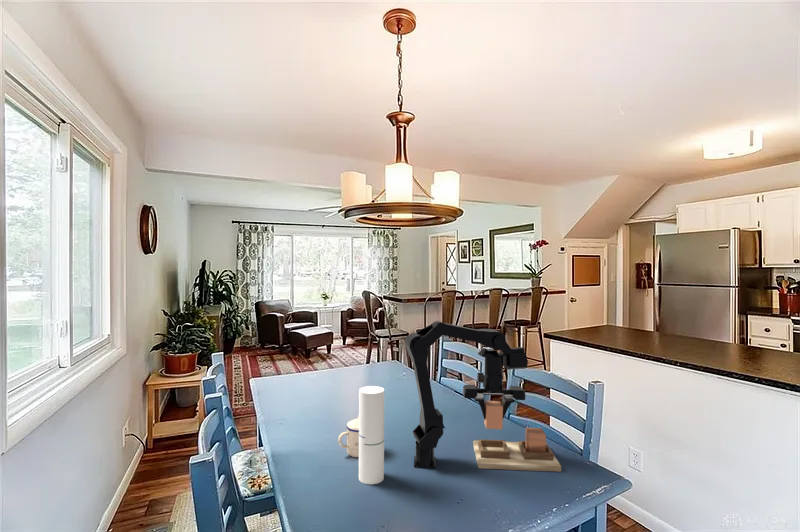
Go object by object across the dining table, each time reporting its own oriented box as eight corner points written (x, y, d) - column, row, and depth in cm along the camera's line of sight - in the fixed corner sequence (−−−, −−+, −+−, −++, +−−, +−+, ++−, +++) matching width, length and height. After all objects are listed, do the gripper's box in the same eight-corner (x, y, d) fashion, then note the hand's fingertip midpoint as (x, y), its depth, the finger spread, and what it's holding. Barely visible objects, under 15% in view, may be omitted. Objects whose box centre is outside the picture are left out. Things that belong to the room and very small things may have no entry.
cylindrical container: (370, 468, 123) (371, 384, 123) (389, 476, 118) (389, 389, 118) (353, 478, 117) (353, 390, 117) (371, 487, 113) (372, 395, 113)
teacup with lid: (368, 443, 140) (368, 409, 140) (379, 454, 132) (379, 418, 132) (333, 450, 135) (334, 415, 135) (343, 462, 126) (343, 424, 126)
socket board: (561, 471, 122) (561, 442, 122) (478, 468, 124) (478, 439, 123) (546, 447, 138) (546, 422, 138) (473, 444, 139) (473, 419, 139)
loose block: (502, 429, 128) (502, 406, 128) (486, 428, 129) (486, 406, 129) (499, 423, 133) (500, 401, 133) (484, 422, 134) (484, 400, 134)
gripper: (518, 364, 138) (517, 411, 138) (461, 363, 140) (461, 409, 140) (526, 373, 127) (525, 424, 127) (464, 371, 129) (464, 422, 129)
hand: (493, 419), depth 131 cm, fingers closed on loose block, 5 cm apart
